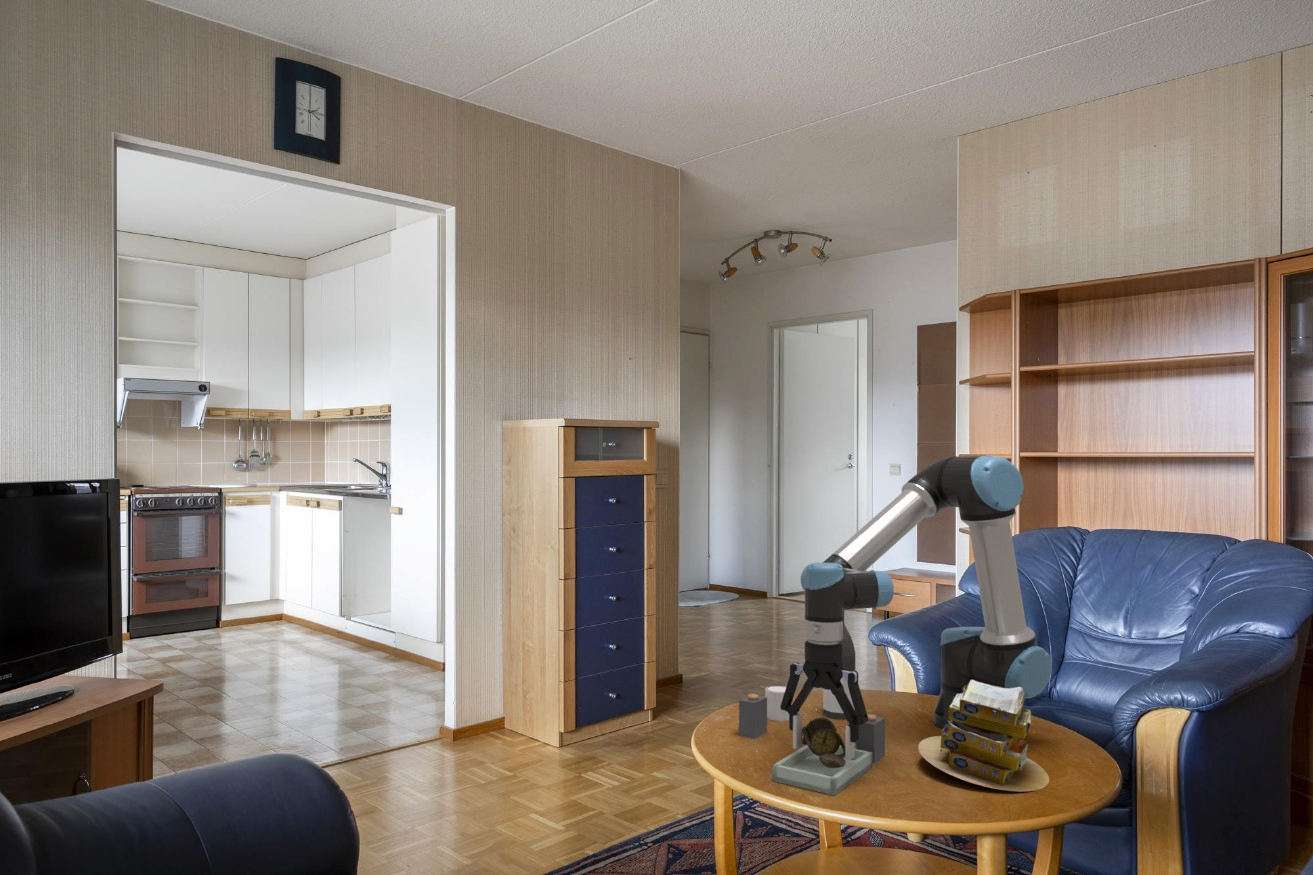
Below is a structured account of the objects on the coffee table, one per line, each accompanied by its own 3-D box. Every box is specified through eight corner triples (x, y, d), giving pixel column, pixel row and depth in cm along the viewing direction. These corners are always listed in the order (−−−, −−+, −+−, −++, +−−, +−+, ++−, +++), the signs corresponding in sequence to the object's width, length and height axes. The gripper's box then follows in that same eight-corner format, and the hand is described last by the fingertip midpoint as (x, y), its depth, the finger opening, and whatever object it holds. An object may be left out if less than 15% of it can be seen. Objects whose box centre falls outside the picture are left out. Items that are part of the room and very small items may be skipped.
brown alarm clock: (856, 724, 180) (808, 710, 183) (851, 736, 168) (799, 720, 171) (848, 759, 180) (800, 744, 183) (842, 773, 168) (791, 757, 171)
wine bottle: (816, 715, 216) (816, 592, 217) (833, 708, 222) (833, 589, 223) (845, 721, 211) (845, 596, 212) (862, 714, 217) (862, 592, 218)
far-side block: (766, 732, 202) (767, 693, 203) (754, 738, 197) (754, 699, 198) (751, 729, 205) (751, 691, 205) (739, 735, 200) (739, 696, 200)
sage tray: (872, 767, 179) (872, 752, 179) (834, 795, 163) (834, 779, 164) (813, 754, 186) (813, 740, 187) (772, 780, 171) (772, 765, 171)
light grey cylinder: (795, 722, 210) (795, 692, 211) (766, 721, 210) (766, 692, 211) (791, 713, 217) (791, 685, 217) (763, 713, 217) (763, 685, 218)
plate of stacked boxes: (1067, 770, 178) (1066, 687, 179) (1020, 804, 160) (1019, 711, 161) (950, 743, 195) (950, 668, 196) (896, 771, 177) (896, 687, 177)
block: (884, 755, 186) (884, 714, 187) (874, 763, 181) (874, 720, 182) (866, 752, 189) (866, 710, 189) (856, 759, 184) (856, 717, 184)
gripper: (763, 636, 179) (762, 746, 179) (872, 651, 166) (871, 769, 165) (780, 631, 185) (779, 737, 185) (886, 645, 172) (885, 758, 172)
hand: (823, 752), depth 175 cm, fingers closed on brown alarm clock, 10 cm apart
